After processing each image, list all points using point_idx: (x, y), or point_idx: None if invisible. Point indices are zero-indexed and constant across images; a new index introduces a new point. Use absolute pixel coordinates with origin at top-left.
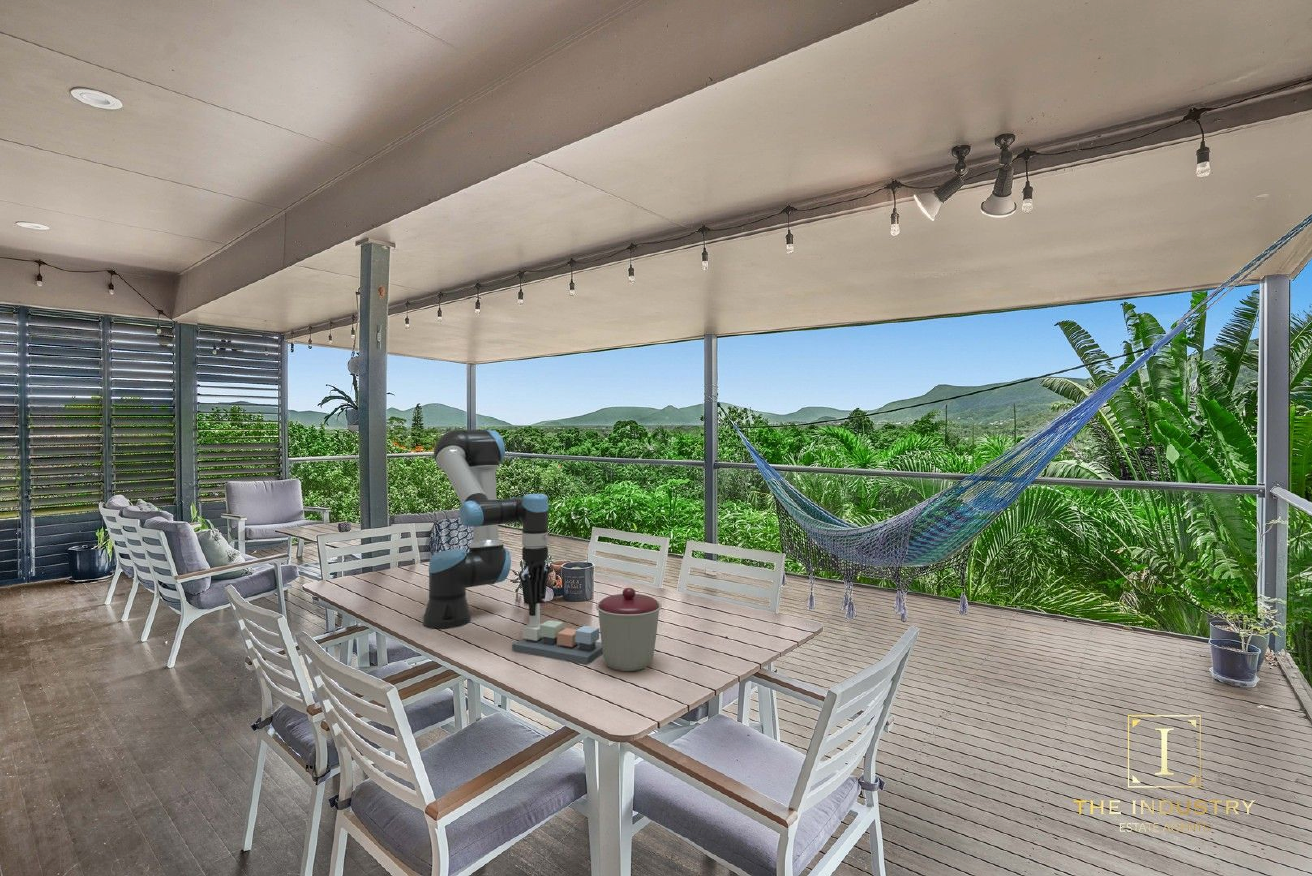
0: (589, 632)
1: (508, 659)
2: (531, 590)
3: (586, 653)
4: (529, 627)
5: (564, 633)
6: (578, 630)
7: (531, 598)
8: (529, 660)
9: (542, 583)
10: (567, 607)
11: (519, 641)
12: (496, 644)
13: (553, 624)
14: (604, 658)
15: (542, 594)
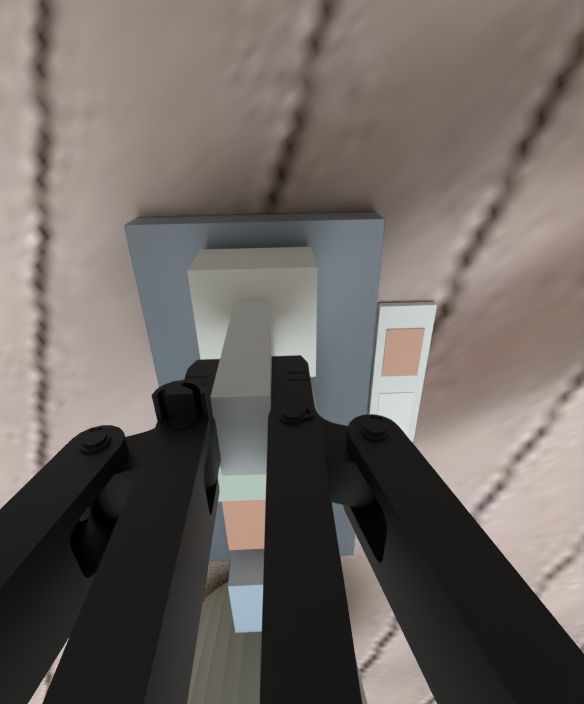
0: (239, 627)
1: (42, 276)
2: (23, 695)
3: (227, 546)
4: (213, 315)
5: (235, 516)
6: (237, 593)
7: (83, 564)
8: (103, 367)
9: (445, 676)
10: None
11: (184, 236)
12: (161, 22)
13: (254, 476)
14: (210, 603)
15: (357, 527)
